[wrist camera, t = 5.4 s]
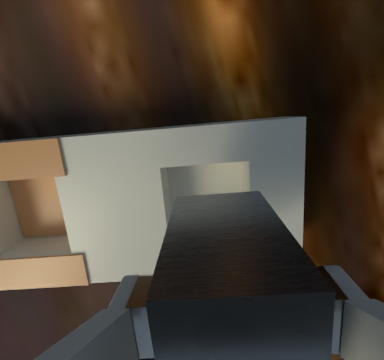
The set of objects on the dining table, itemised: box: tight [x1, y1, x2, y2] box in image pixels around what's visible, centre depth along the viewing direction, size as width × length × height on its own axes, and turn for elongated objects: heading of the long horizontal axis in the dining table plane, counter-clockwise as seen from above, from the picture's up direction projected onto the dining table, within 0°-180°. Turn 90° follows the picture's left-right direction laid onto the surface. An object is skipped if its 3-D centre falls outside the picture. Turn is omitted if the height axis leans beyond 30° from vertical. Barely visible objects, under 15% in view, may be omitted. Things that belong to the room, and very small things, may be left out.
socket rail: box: [0, 117, 306, 290], centre depth 18 cm, size 24×10×4 cm, turn 95°
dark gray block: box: [145, 191, 335, 360], centre depth 9 cm, size 4×4×7 cm
